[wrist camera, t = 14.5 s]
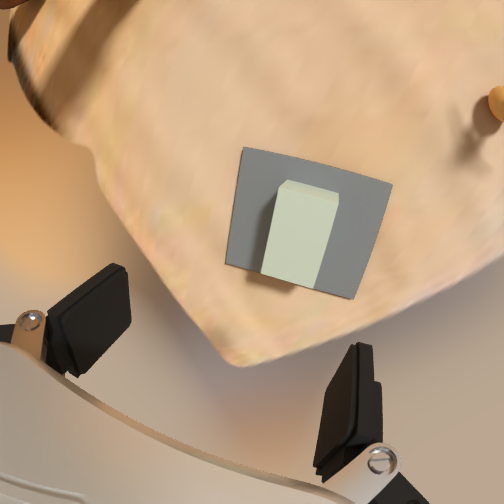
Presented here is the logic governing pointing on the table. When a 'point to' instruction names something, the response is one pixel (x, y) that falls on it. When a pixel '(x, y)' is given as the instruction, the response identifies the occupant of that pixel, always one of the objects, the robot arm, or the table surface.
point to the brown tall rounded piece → (10, 3)
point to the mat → (343, 229)
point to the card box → (299, 232)
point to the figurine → (497, 102)
